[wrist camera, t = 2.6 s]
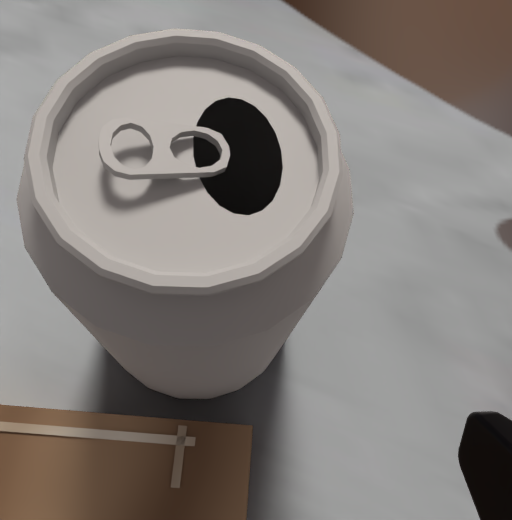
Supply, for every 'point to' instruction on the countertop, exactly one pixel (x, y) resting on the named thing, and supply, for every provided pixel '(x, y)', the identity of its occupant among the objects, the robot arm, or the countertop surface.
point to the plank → (120, 467)
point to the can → (185, 204)
